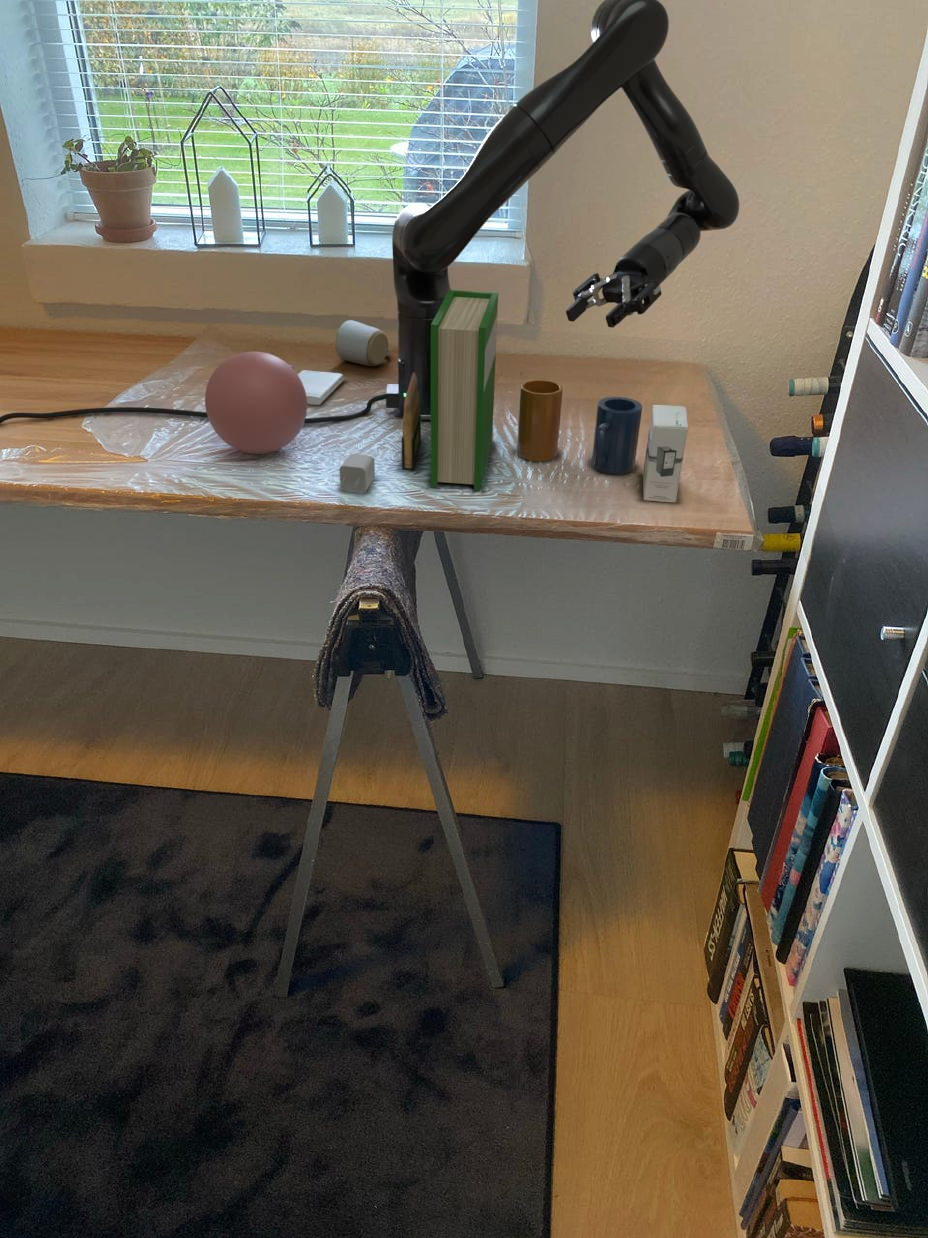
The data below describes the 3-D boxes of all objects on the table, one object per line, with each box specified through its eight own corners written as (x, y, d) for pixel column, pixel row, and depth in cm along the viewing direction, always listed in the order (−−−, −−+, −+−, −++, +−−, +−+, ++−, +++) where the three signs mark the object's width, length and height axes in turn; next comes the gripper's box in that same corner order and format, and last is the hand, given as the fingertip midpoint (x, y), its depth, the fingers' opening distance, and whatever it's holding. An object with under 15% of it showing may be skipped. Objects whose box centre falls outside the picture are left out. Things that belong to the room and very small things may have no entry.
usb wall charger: (375, 480, 140) (374, 456, 138) (361, 501, 134) (360, 475, 132) (349, 477, 141) (348, 453, 139) (335, 498, 135) (333, 472, 133)
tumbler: (518, 461, 147) (522, 393, 141) (515, 444, 152) (519, 379, 146) (559, 461, 147) (564, 394, 141) (554, 445, 152) (560, 379, 146)
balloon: (340, 429, 156) (335, 337, 147) (280, 476, 140) (270, 377, 132) (259, 415, 160) (250, 325, 152) (192, 460, 145) (177, 362, 136)
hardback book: (480, 491, 138) (485, 327, 125) (430, 487, 139) (430, 324, 125) (492, 443, 152) (498, 292, 139) (447, 440, 153) (449, 289, 140)
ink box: (641, 475, 143) (651, 402, 137) (674, 478, 143) (686, 404, 136) (642, 500, 136) (653, 424, 130) (676, 503, 136) (689, 427, 129)
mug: (603, 453, 150) (610, 393, 144) (641, 463, 147) (649, 402, 141) (575, 474, 143) (581, 412, 138) (614, 485, 140) (621, 422, 135)
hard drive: (301, 369, 175) (275, 391, 165) (343, 373, 174) (319, 396, 164) (302, 378, 176) (276, 400, 166) (343, 382, 175) (320, 405, 165)
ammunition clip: (414, 470, 143) (413, 395, 137) (402, 469, 143) (400, 394, 137) (420, 442, 152) (420, 370, 145) (409, 442, 152) (408, 369, 146)
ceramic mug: (369, 372, 179) (368, 331, 175) (335, 364, 183) (333, 324, 178) (400, 358, 187) (400, 319, 183) (367, 350, 190) (366, 312, 186)
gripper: (610, 239, 156) (549, 294, 151) (679, 243, 147) (616, 303, 142) (621, 279, 161) (562, 334, 156) (689, 286, 152) (628, 345, 147)
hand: (588, 319), depth 149 cm, fingers open, 8 cm apart
